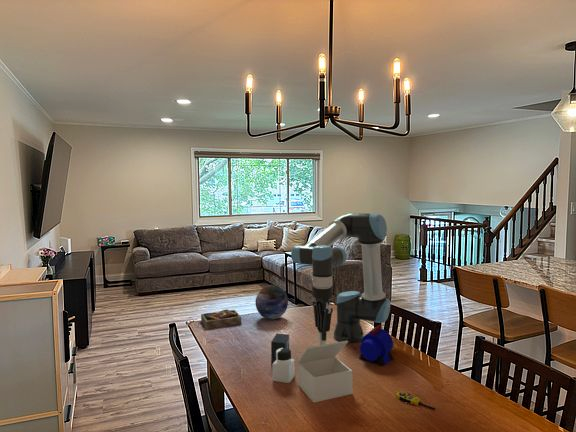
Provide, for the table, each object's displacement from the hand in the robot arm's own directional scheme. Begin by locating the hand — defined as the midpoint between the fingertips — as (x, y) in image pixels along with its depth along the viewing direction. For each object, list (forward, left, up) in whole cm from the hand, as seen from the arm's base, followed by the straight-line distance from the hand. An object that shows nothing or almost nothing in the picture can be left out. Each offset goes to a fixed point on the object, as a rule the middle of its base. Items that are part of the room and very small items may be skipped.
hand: (322, 347), depth 161 cm
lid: (0, -1, -2) cm, 2 cm away
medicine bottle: (+11, -14, -16) cm, 24 cm away
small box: (+6, -31, -16) cm, 35 cm away
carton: (0, +1, -16) cm, 16 cm away
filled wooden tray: (+19, -94, -16) cm, 97 cm away
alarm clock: (-33, -15, -16) cm, 40 cm away
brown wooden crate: (+19, -94, -16) cm, 97 cm away
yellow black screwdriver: (-26, +22, -17) cm, 38 cm away
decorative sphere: (-10, -88, -16) cm, 90 cm away
